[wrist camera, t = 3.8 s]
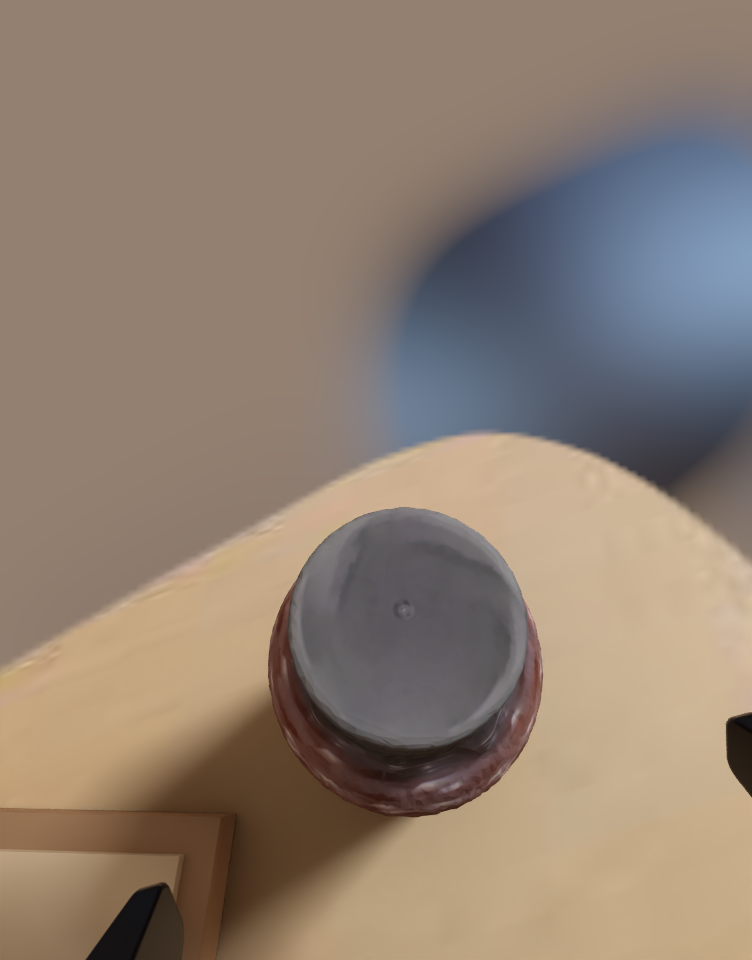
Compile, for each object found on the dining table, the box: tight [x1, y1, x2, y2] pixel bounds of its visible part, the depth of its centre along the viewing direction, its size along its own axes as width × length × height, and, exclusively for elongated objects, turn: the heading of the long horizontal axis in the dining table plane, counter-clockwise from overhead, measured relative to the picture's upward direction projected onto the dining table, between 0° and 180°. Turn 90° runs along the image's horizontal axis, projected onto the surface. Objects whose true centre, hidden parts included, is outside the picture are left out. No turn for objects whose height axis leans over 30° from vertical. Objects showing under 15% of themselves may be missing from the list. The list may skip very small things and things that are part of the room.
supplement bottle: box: [268, 507, 543, 817], centre depth 13 cm, size 6×6×11 cm
